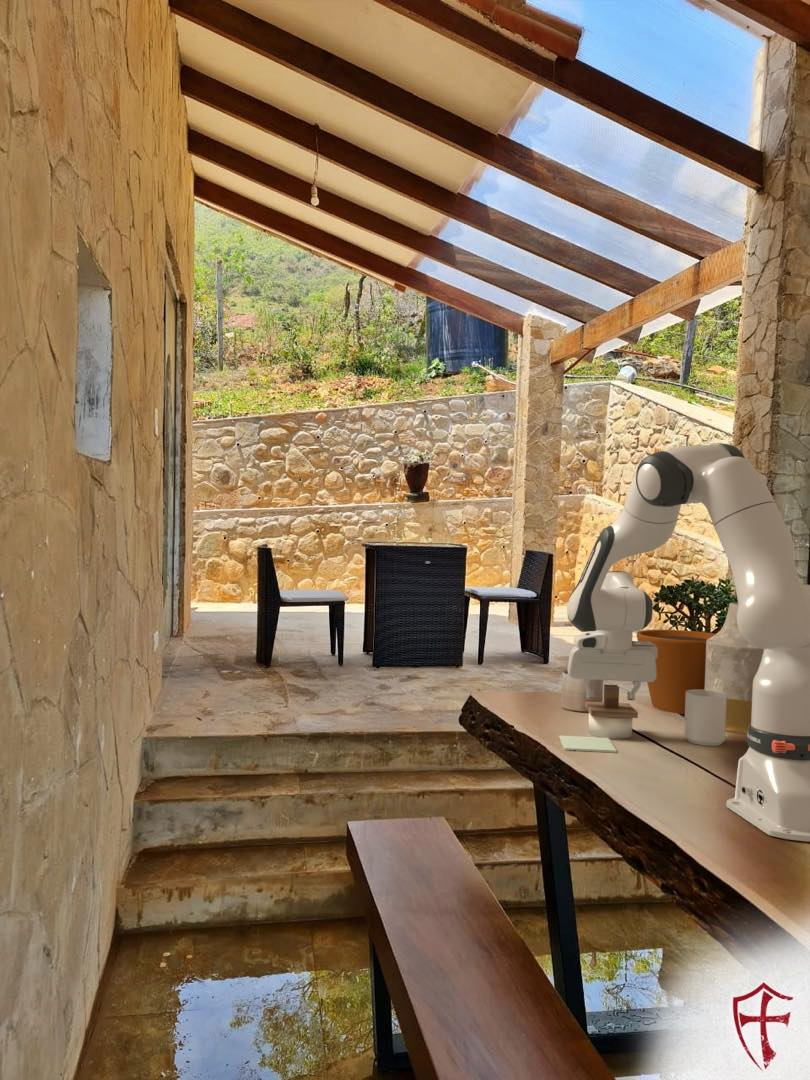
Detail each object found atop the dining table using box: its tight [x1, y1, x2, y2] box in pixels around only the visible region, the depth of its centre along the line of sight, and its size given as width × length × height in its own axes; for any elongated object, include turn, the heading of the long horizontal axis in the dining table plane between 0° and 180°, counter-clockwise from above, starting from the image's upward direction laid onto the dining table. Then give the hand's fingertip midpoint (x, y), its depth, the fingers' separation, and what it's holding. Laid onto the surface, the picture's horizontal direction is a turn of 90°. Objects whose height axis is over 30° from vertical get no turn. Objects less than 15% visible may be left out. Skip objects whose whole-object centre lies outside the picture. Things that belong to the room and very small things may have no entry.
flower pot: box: [636, 629, 717, 715], centre depth 231 cm, size 24×24×20 cm
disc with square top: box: [587, 713, 634, 740], centre depth 200 cm, size 10×10×5 cm
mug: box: [683, 690, 727, 747], centre depth 196 cm, size 12×9×11 cm
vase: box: [705, 601, 764, 735], centre depth 212 cm, size 18×18×30 cm
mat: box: [558, 735, 617, 754], centre depth 188 cm, size 11×11×1 cm
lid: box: [585, 683, 639, 719], centre depth 200 cm, size 10×10×6 cm
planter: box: [560, 669, 604, 714], centre depth 227 cm, size 11×11×10 cm
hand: (610, 699), depth 199 cm, fingers open, 8 cm apart
